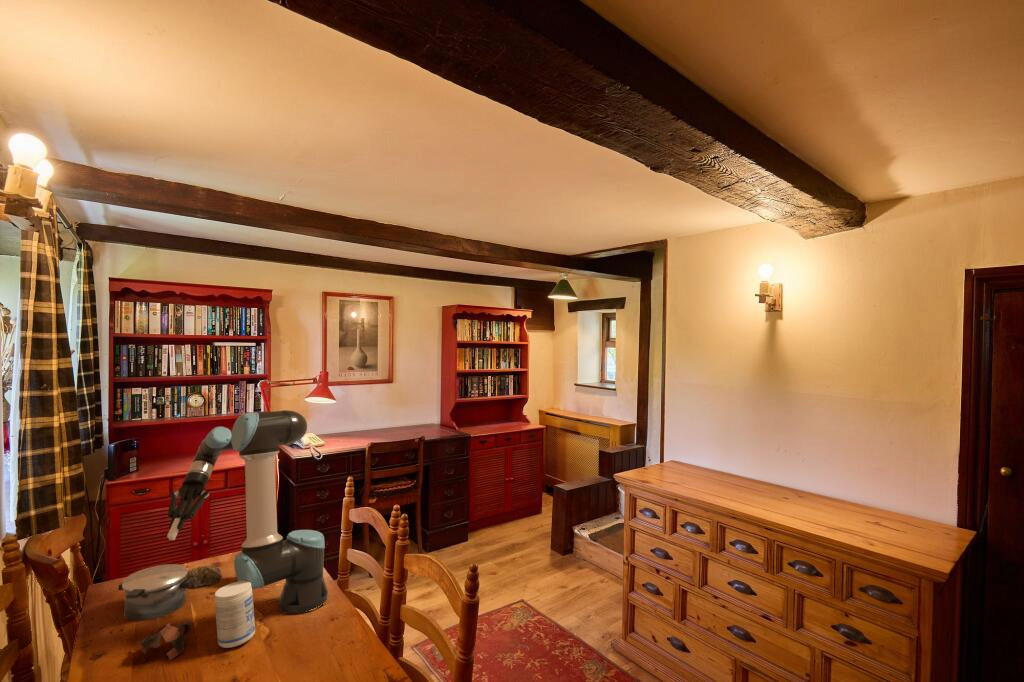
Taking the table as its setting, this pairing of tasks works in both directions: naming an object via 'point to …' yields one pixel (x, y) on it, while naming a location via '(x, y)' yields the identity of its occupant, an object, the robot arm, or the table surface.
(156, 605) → the cooker pot
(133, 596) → the lid
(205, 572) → the speckled stone
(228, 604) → the supplement tub
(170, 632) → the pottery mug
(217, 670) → the table surface
